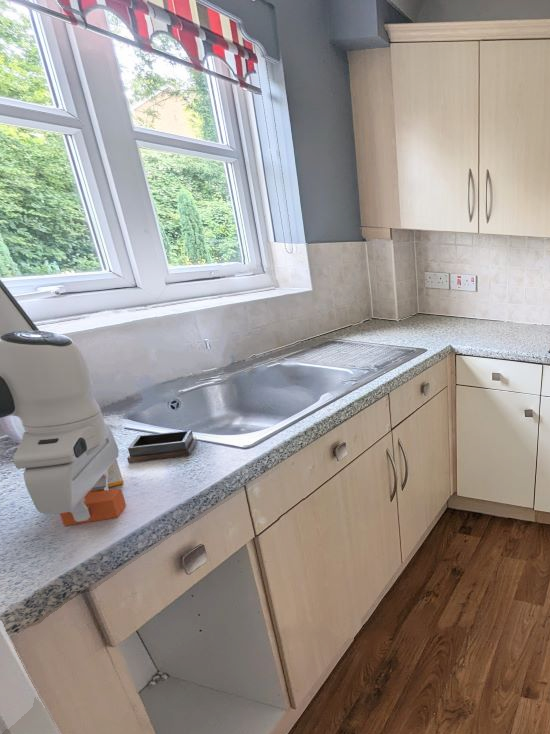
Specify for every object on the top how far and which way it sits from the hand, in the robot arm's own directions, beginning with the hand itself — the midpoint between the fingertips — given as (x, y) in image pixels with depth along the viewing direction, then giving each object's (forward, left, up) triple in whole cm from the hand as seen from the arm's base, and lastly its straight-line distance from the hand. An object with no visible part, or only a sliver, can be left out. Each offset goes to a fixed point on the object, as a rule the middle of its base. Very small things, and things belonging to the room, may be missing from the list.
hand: (93, 506), depth 77 cm
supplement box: (-4, +11, -2) cm, 12 cm away
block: (0, 0, -2) cm, 2 cm away
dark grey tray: (+4, +24, -2) cm, 24 cm away
